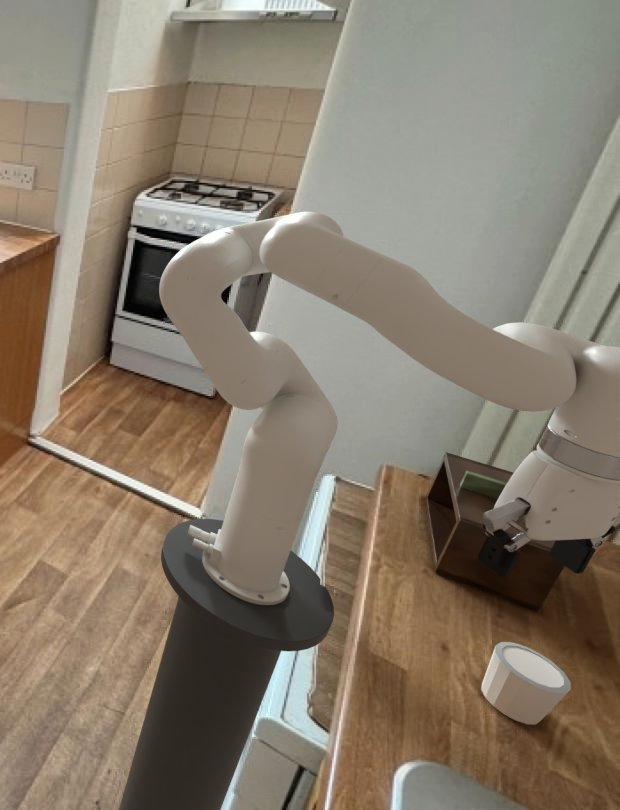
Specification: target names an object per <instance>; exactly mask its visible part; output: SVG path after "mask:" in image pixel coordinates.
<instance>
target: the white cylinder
mask: <svg viewBox="0 0 620 810" xmlns="http://www.w3.org/2000/svg"><path fill="white" fill-rule="evenodd" d="M485 671H486V672H485V674H484V677H483V680H482V682H481V688H480V690H481V693H482V694H483V696H484V698H485V699H486V700H487V701H488V702H489V704H491V705H492V707H494V708H495V709H496V710H497V711H499V712H500V713H501V714H503V715H505V716H506V717H508V718H510V719H511V720H513V721H516V722H518V723H522V724H524V725H534V726H536V725H537V724H538V723H540V722H541V721H542V720H544V718H545V717H546V716H547V715H548V714H549V713H550V712H551V711H552V710H553V709H554V708H555V707H556V706H557V705H558V704H559V702H560V701H562V699H563V698H564V697H565V696H566V695H567V694H568V693H569V692H570V691H571V690H572V684H571V683H572V682H571V680H570V679H569V678H568V676H567V674H566V673H565V672H564V671H563V669H561V668H560V667H559V666H558V665H557V664H555V662H553V661H552V660H551V659H549V658H547V657H546V656H544V655H543V654H541V653H540V652H538V651H536V650H534V649H532V648H531V647H527V646H525V645H523V644H519V643H517V642H512V641H501V642H498V643H497V644H496V645H494V647H493V652H492V654H491V657H490V659H489V663H488V665H487V668H486V670H485Z"/></svg>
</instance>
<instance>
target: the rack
mask: <svg viewBox="0 0 620 810" xmlns="http://www.w3.org/2000/svg"><path fill="white" fill-rule="evenodd" d="M514 472H515V471H510V470H507V469H503V468H500V467H497V466H493V465H490V464H487V463H483V462H480V461H478V460H477V461H476V460H474V459H470V458H467V457H463V456H461V455H457V454H453V453H450V452H447V451H445V453H444V455H443V457H442V460H441V461H440V463H439V466H438V468H437V470H436V473H435V475H434V477H433V479H432V481H431V484H430V486H429V488H428V491H427V492H426V495H425V497H424V503H425V510H426V517H427V524H428V525H427V526H428V532H429V536H430V537H429V540H430V546H431V552H432V559H433V567H434V573H436V574H439V575H440V576H444V577H447V578H449V579H452V580H454V581H457V582H460V583H462V584H463V585H467V586H470V587H472V588H474V589H478V590H480V591H482V592H485V593H487V594H489V595H493V596H495V597H498V598H500V599H503V600H505V601H508V602H511V603H512V604H516V605H519V606H521V607H524V608H527V609H528V610H532V611H534V612H537V613H539V611H540V609H541V608H542V606H543V605H544V602H545V601H546V599H547V597H548V596H549V594H550V592H551V591H552V589H553V587H554V586H555V584H556V582H557V581H558V579H559V577H560V576H561V573H562V572H563V571H564V569H565V568H566V566H564V565H563V564H561V563H560V562H558V561H557V560H556V559H554V558H553V557H551V556H550V554H549V553H550V550H551V549H552V547H553V545H554V543H555V541H556V540H547V541H546V540H534V539H532V540H530V541H529V542H527V543H526V544H524V545H523V546H521V547H520V548H518V549H517V551H518V552H519V553H521V554H520V555H519V557H518V559H517V561H516V563H515V565H514V567H513V569H512V571H511V573H510V575H509V576H508V577H501V576H499V575H498V574H497V573H496V572H494V571H493V570H492V569H491V568H489V567H488V566H487V565H485V564H484V563H483V562H482V561H480V560H479V558H478V555H479V553H480V550H481V548H482V546H483V544H484V542H485V540H486V538H487V535H486V534H485V530H484V529H483V525H484V520H483V514H484V513H485V512H487V511H490V510H492V509H494V506H495V504H496V502H497V500H498V498H499V496H500V495H501V493H502V491H503V489H504V488H505V486H506V484H507V483H508V481H509V480H510V478H511V477H512V475H513V474H514ZM515 522H517V523H518V524H520V525H521V526H522V527H524V528H525V529H527V530H528V528H527V527H526V523H525V522H523V521H522V520H520V518H519V519H518V520H517V521H515ZM505 532H506V533H507V534H508V535H509V537H510V538H511V539H512V538H514V537H515V536H517V535H518V534H520V532H519V531H517V530H516V529H514V528H513V527H512V526H511V527H509V528H508V529H506V530H505Z"/></svg>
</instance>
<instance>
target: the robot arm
mask: <svg viewBox="0 0 620 810" xmlns="http://www.w3.org/2000/svg"><path fill="white" fill-rule="evenodd" d="M266 273H272V274H273V275H274V276H275V277H278V278H279V279H282V280H283V281H285V282H287V283H289V284H291V285H293V286H295V287H297V288H299V289H301V290H303V291H305V292H307V293H308V294H311V295H313V296H315V297H317V298H319V299H321V300H323V301H325V302H326V303H329V304H330V305H333V306H335V307H337V308H339V309H341V310H342V311H344V312H346V313H348V314H350V315H352V316H354V317H355V318H358V319H360V320H361V321H363V322H365V323H366V324H368V325H370V326H371V327H372V328H373V329H374V330H375V331H376V332H377V333H379V334H380V335H381V336H382V337H383V338H385V339H386V340H387V341H389V342H390V343H391V344H393V345H394V346H396V347H397V348H398V349H399V350H401V351H402V352H403V353H405V354H406V355H407V356H409V357H410V358H411V359H413V360H414V361H416V362H417V363H418V364H420V365H422V366H423V367H424V368H426V369H428V370H429V371H431V372H433V373H435V374H436V375H438V376H439V377H442V378H443V379H445V380H447V381H449V382H451V383H453V384H455V385H457V386H459V387H460V388H463V389H464V390H466V391H468V392H470V393H472V394H474V395H476V396H478V397H480V398H482V399H484V400H486V401H488V402H490V403H492V404H496V405H498V406H501V407H504V408H508V409H509V410H510V409H511V410H514V411H515V410H516V411H520V412H530V413H531V412H532V413H534V412H545V411H549V410H553V409H554V410H553V413H552V415H551V417H550V419H549V421H548V423H547V425H546V427H545V429H544V431H543V433H542V435H541V437H540V439H539V441H538V444H537V445H536V449H535V450H532V451H531V452H530V453H529V454H527V456H526V457H525V458H524V459H523V460H522V461H521V463H520V464H519V465H518V467H517V468H516V469H515V471H513V472H514V474H513V475H512V477H511V478H510V480H509V481H508V483H507V484H506V486H505V488H504V489H503V491H502V493H501V495H500V496H499V498H498V500H497V502H496V504H495V506H494V509H492V510H490V511H487V512H485V513H484V514H483V520H484V525H483V529H484V530H485V534H486V535H487V538H486V540H485V542H484V544H483V546H482V548H481V550H480V553H479V555H478V558H479V560H480V561H482V562H483V563H484V564H485V565H487V566H488V567H489V568H491V569H492V570H493V571H494V572H496V573H497V574H498V575H499V576H501V577H508V576H509V575H510V573H511V571H512V569H513V567H514V565H515V563H516V561H517V559H518V557H519V555H520V554H521V553H519V552H518V551H517V549H518V548H520V547H521V546H523V545H524V544H526V543H527V542H529V541H530V540H532V539H534V540H546V541H547V540H556V541H555V543H554V545H553V547H552V549H551V550H550V553H549V554H550V556H551V557H553V558H554V559H556V560H557V561H558V562H560V563H561V564H563V565H564V566H565V568H567V569H568V570H570V571H571V572H572V573H574V574H577V575H578V574H583V573H584V571H585V570H586V568H587V566H588V565H589V563H590V562H591V559H592V558H593V556H594V554H595V553H596V550H597V549H598V548H601V547H602V546H603V545H604V543H605V541H604V538H606V537H608V536H609V535H611V534H614V532H616V527H617V526H619V525H620V347H619V346H609V345H604V344H600V343H598V342H594V341H591V340H588V339H586V338H581V337H579V336H576V335H573V334H570V333H567V332H565V331H561V330H558V329H556V328H552V327H550V326H549V327H548V326H546V325H542V324H537V323H532V322H524V321H523V322H522V321H521V322H519V321H518V322H507V323H504V324H501V325H498V326H496V327H493V328H491V327H489V326H487V325H485V324H483V323H481V322H480V321H478V320H476V319H474V318H472V317H470V316H469V315H467V314H465V313H464V312H462V311H461V310H459V309H458V308H456V307H455V306H453V305H452V304H451V303H450V302H448V301H447V300H446V299H445V298H443V297H442V296H441V295H440V293H438V291H436V289H435V288H434V287H433V286H432V284H431V283H430V282H429V281H428V280H427V279H426V278H425V277H424V276H423V274H421V273H420V272H419V271H417V270H416V269H414V267H412V266H410V265H408V264H406V263H404V262H401V261H399V260H396V259H394V258H392V257H389V256H387V255H385V254H383V253H381V252H379V251H376V250H374V249H373V248H370V247H367V246H365V245H362V244H360V243H359V242H356V241H354V240H352V239H350V238H347V237H345V236H344V232H343V229H342V228H341V226H340V224H339V223H338V222H337V221H336V220H335V219H333V218H332V217H331V216H328V215H326V214H323V213H321V212H316V211H300V212H294V213H289V214H284V215H280V216H276V217H271V218H267V219H262V220H257V221H251V222H247V223H243V224H236V225H231V226H227V227H223V228H219V229H216V230H214V231H211V232H209V233H207V234H205V235H203V236H202V237H199V238H198V239H196V240H194V241H192V242H191V243H189V244H187V245H185V246H184V247H182V248H181V249H180V250H179V251H178V252H177V253H176V254H175V255H174V256H173V257H172V258H171V259H170V261H169V262H168V263H167V265H166V267H165V268H164V270H163V272H162V274H161V277H160V280H159V287H158V291H159V293H158V294H159V299H160V303H161V306H162V308H163V310H164V312H165V314H166V315H167V316H168V318H169V320H170V321H171V323H172V324H173V326H174V327H175V328H176V329H177V331H178V332H179V334H180V336H182V338H183V340H184V341H185V343H186V344H187V346H188V348H189V349H190V351H191V353H192V355H193V356H194V357H195V359H196V360H197V362H198V363H199V366H200V367H201V368H202V369H203V371H204V373H205V374H206V376H207V377H208V379H209V380H210V382H211V383H212V385H213V387H214V388H215V389H216V391H217V393H218V395H220V397H221V398H222V399H223V400H224V401H225V402H226V403H227V404H229V405H230V406H232V407H234V408H237V409H239V410H245V411H253V410H258V409H260V408H261V412H260V413H259V415H258V416H257V418H256V419H255V420H254V422H253V423H252V424H251V426H250V427H249V430H248V431H247V434H246V435H245V439H244V442H243V445H242V451H241V457H240V458H241V459H240V462H239V467H238V470H237V474H236V477H235V481H234V484H233V488H232V492H231V494H230V498H229V502H228V505H227V508H226V512H225V515H224V518H223V521H224V522H223V525H222V528H221V529H219V530H218V534H215V533H212V532H211V533H210V534H209V533H207V532H205V531H202V530H201V529H199V528H197V527H194V526H192V525H190V527H189V531H188V534H187V535H188V536H190V537H192V538H194V541H193V544H192V546H194V547H196V548H198V549H201V550H204V551H203V555H202V563H203V565H204V568H205V570H206V572H207V573H208V575H209V576H210V577H211V578H212V579H213V580H214V581H215V582H216V583H217V584H218V585H219V586H220V587H221V588H223V589H224V590H225V591H227V592H228V593H230V594H232V595H233V596H235V597H238V598H240V599H242V600H244V601H247V602H250V603H254V604H258V605H276V604H279V603H281V602H283V601H284V600H285V599H286V597H287V596H288V593H289V590H290V584H289V580H288V578H287V576H286V574H285V572H284V571H283V570H284V567H285V564H286V562H287V559H288V556H289V553H290V550H291V551H292V547H293V545H294V542H295V539H296V536H297V534H298V530H299V528H300V525H301V522H302V519H303V517H304V514H305V511H306V509H307V505H308V502H309V499H310V497H311V494H312V491H313V488H314V485H315V482H316V481H317V477H318V475H319V472H320V470H321V468H322V466H323V462H324V460H325V458H326V456H327V454H328V452H329V449H330V448H331V444H332V443H333V440H334V439H335V436H336V433H337V430H338V426H339V425H338V416H337V413H336V411H335V408H334V407H333V405H332V403H331V402H330V399H329V398H328V397H327V395H326V394H325V393H324V391H323V390H322V388H321V387H320V385H319V384H318V383H317V380H315V378H314V376H313V375H312V374H311V372H310V371H309V370H308V368H307V367H306V366H305V364H304V362H303V361H302V360H301V358H300V357H299V355H298V354H297V353H296V352H295V351H294V349H293V348H292V347H291V346H290V345H289V344H288V343H287V342H285V341H284V340H283V339H281V338H279V337H278V336H276V335H274V334H272V333H269V332H265V331H249V330H248V329H247V327H246V326H245V324H244V323H243V321H242V319H241V318H240V316H239V315H238V313H236V312H235V311H234V310H233V308H231V307H230V306H229V305H228V304H227V303H226V302H225V301H224V300H223V298H222V294H223V292H224V291H225V290H226V289H227V288H229V287H230V286H231V285H233V284H234V283H236V282H237V281H238V280H239V279H242V278H243V277H247V276H252V275H253V276H254V275H260V274H266ZM519 518H520V520H522V521H523V522H525V523H526V527H527V528H528V530H527V529H525V528H524V527H522V526H521V525H520V524H518V523H517V522H515V521H517V520H518V519H519ZM511 526H512V527H513V528H514V529H516V530H517V531H519V532H520V534H518V535H517V536H515V537H514V538H512V539H511V538H510V537H509V535H508V534H507V533H506V532H505V530H506V529H508V528H509V527H511ZM202 541H203V542H202ZM204 542H205V543H204ZM206 543H207V544H206Z"/></svg>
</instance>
